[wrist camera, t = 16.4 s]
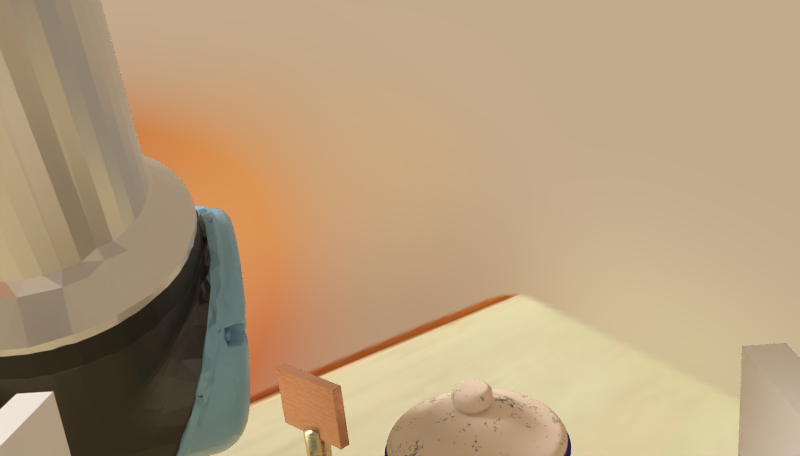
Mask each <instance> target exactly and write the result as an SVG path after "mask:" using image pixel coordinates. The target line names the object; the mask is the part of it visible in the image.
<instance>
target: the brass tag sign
mask: <svg viewBox="0 0 800 456" xmlns="http://www.w3.org/2000/svg"><path fill="white" fill-rule="evenodd" d="M276 370H277V376H278V382H279V388H280V394H281V399H282V405H283V411H284V417H285V422H286V423H288V424H290V425H292V426H294V427H296V428H299V429H301V430H303V432H304V438H305V444H306V450H307V456H332V451H331V445H333V446H335V447H337V448H339V449H342V448H344V447H346V446H347V445H349V440H348V433H347V426H346V419H345V413H344V406H343V399H342V392H341V386H339V385H337V384H334V383H332V382H329V381H327V380H324V379H322V378H319V377H317V376H314V375H312V374H310V373H307V372H305V371H302V370H300V369H297V368H294V367H292V366H290V365H287V364H285V363H284V364H282V365H280V366H278V367H276ZM330 444H331V445H330Z"/></svg>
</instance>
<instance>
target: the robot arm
mask: <svg viewBox="0 0 800 456" xmlns="http://www.w3.org/2000/svg"><path fill="white" fill-rule="evenodd" d="M245 328H246V319H245V297H244V288H243V281H242V272H241V265H240V258H239V252H238V246H237V241H236V236H235V232H234V228H233V225H232V222H231V219H230V217H229V216H228V215H227V214H226V213H225V212H224V211H223V210H220V209H217V208H205V207H203V206H197V207H195V206H194V202H193V199H192V197H191V195H190V193H189V192H188V189H187V188H186V186H185V184H184V183H183V181H182V180H181V179H180V178H179V177H178V176H177V175H176V174H175V173H174V172H173V171H172V170H170V169H169V168H167V167H166V166H164V165H163V164H161V163H159V162H157V161H155V160H153V159H152V158H150V157H147V156H144V155H142V152H141V148H140V145H139V141H138V137H137V134H136V130H135V126H134V123H133V119H132V115H131V111H130V108H129V104H128V100H127V96H126V93H125V89H124V85H123V82H122V78H121V74H120V70H119V67H118V63H117V60H116V56H115V52H114V48H113V44H112V41H111V37H110V33H109V30H108V26H107V22H106V18H105V15H104V11H103V8H102V3H101V0H0V456H210V455H214V454H217V453H220V452H223V451H225V450H227V449H228V448H230V447H231V446H232V445H234V444H235V443H236V442H237V441H238V439H239V438H240V437H241V435H242V433H243V432H244V429H245V427H246V424H247V421H248V415H249V406H250V365H249V364H250V363H249V349H248V340H247V336H246V333H245ZM738 456H800V358H799V357H798V356H797V354H796V353H795V352H794V351H793V350H792V349H791V348H790V347H789V346H788V345H787V344H786V343H783V344H766V345H751V346H742V362H741V392H740V420H739V449H738Z"/></svg>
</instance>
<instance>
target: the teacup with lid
mask: <svg viewBox="0 0 800 456" xmlns="http://www.w3.org/2000/svg"><path fill="white" fill-rule="evenodd" d="M570 455H571V442H570V438H569V435H568V433H567V431H566V429H565V426H564V424H563V423H562V421H561V420H560V418H559V417H558V416H557V415H556V414H555V413H554V412H553V411H552V410H551V409H550V408H549V407H547V406H546V405H544V404H543V403H541V402H539V401H537V400H535V399H533V398H531V397H528V396H526V395H522V394H519V393H515V392H511V391H505V390H497V389H491V387H490V386H489V385H488V384H487V383H486V382H484V381H481V380H477V379H469V380H464V381H461V382H459V383H457V384H456V385H455V386H454V388H453V389H452V391H451V392H450V393H446V394H442V395H439V396H436V397H433V398H430V399H428V400H426V401H424V402H422V403H420V404H418V405H416V406H414V407H413V408H411V409H410V410H409V411H407V412H406V413H405V414H404V415H403V416H402V417H401V418H400V419H399V420H398V421H397V422H396V423H395V425H394V426H393V428H392V430H391V432H390V434H389V437H388V440H387V445H386V448H385V456H570Z"/></svg>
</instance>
